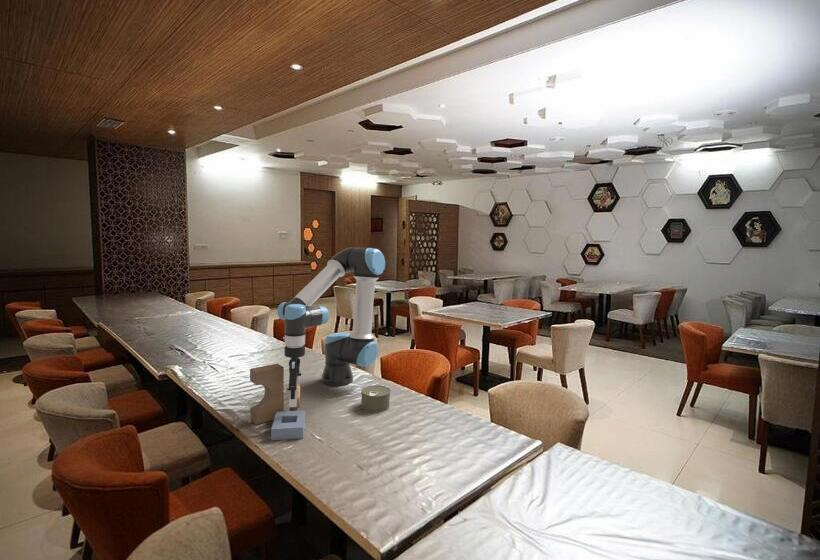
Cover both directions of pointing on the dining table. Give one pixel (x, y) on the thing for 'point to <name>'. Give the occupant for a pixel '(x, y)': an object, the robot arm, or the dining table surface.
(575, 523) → the dining table surface
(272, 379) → the decorative block
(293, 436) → the board
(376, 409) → the can
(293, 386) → the peg
